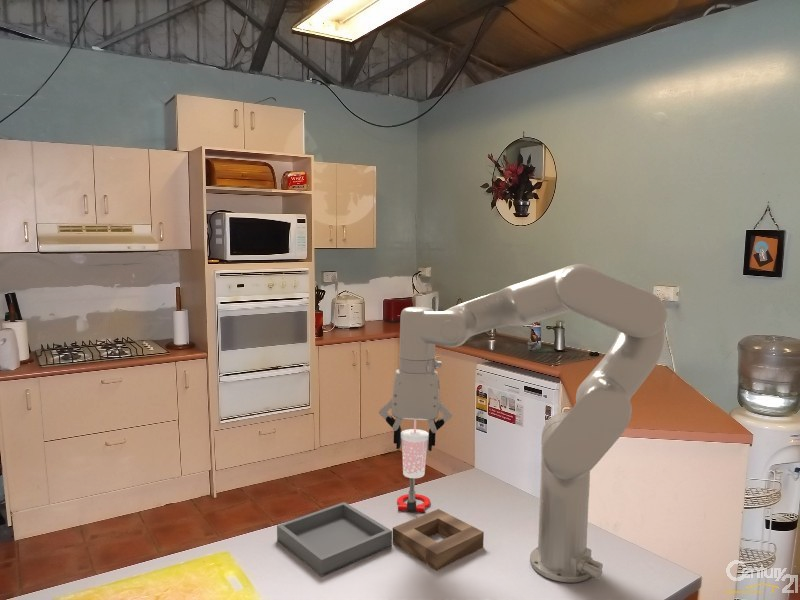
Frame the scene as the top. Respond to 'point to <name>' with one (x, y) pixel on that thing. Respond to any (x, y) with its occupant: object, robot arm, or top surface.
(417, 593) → the top surface
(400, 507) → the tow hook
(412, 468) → the beverage cup
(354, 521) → the tray
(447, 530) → the square wooden frame block
